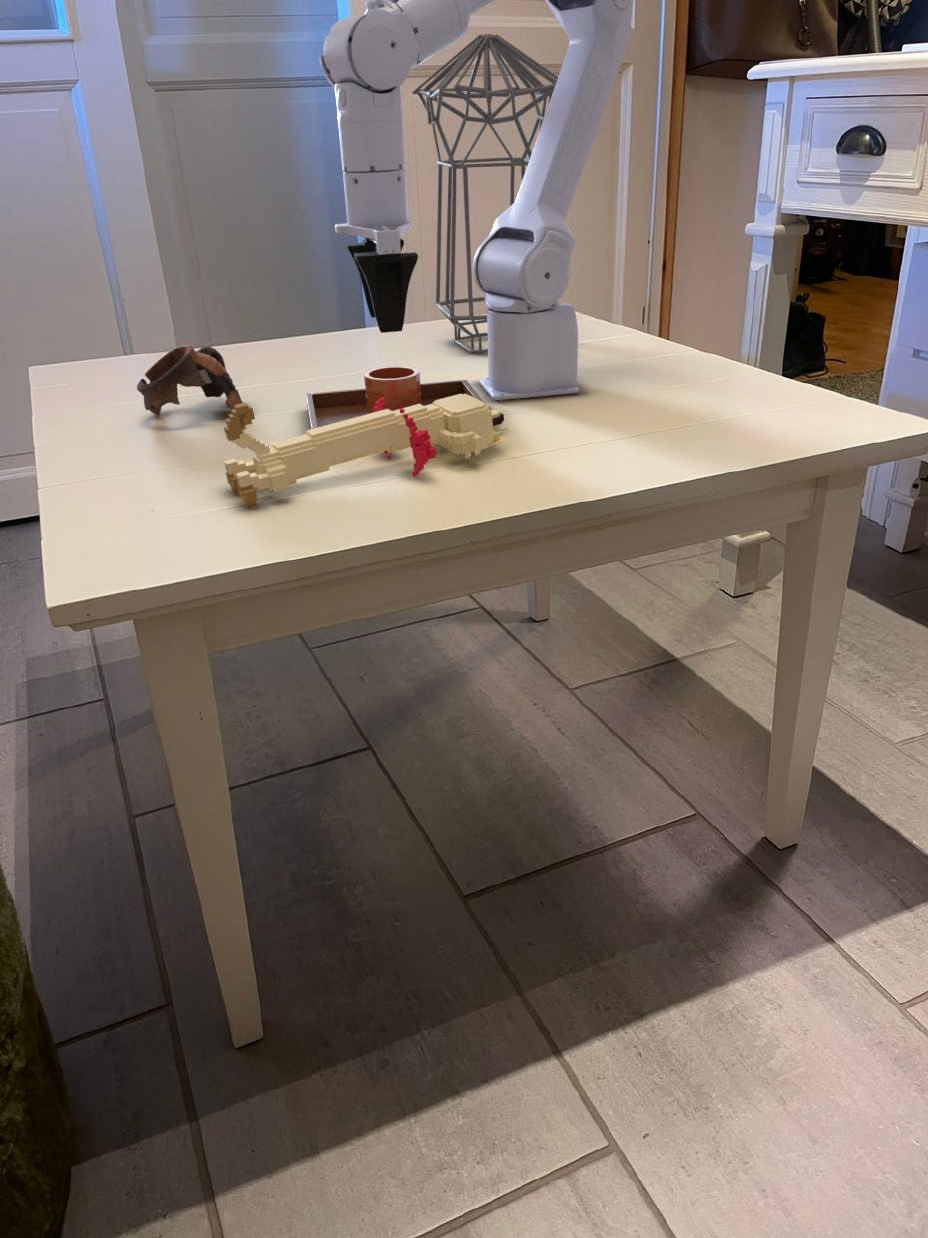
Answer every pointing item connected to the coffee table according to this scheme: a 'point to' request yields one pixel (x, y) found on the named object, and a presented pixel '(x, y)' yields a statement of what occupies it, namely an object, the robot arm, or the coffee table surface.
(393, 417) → the cat figure
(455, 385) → the tray
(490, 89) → the geometric lantern
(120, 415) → the coffee table surface
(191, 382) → the broken pottery shard
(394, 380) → the cup
